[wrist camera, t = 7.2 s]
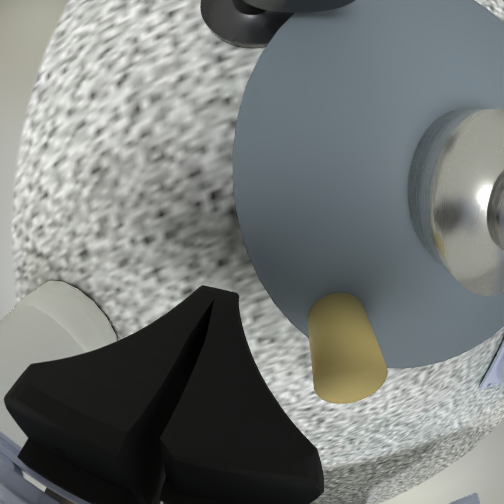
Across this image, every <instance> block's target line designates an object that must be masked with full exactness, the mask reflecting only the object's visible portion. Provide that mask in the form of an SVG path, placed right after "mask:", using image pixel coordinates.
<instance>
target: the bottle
mask: <svg viewBox="0 0 504 504" xmlns="http://www.w3.org/2000/svg"><path fill="white" fill-rule="evenodd" d="M116 341H117V337H116V334H115V332H114V330H113V328H112V327H111V325H110V323H109V321H108V319H107V317H106V316H105V315H104V313H103V312H102V311H101V310H100V309H99V308H98V306H97V305H96V304H95V303H94V301H92V300H91V299H90V298H89V297H87V296H86V295H85V294H84V293H82V292H81V291H80V290H79V289H77V288H75V287H73V286H71V285H68V284H66V283H64V282H62V281H48V282H46V283H44V284H43V285H41V286H40V287H38V288H37V289H36V290H35V291H33V292H31V293H30V294H28V295H27V296H26V297H24V298H23V299H22V300H21V301H20V302H18V303H17V304H16V305H15V307H14V309H13V310H12V311H11V312H10V313H9V314H7V315H6V316H5V317H4V318H3V319H2V320H1V321H0V431H1V432H2V433H3V434H4V435H6V436H7V437H8V438H10V439H11V440H12V441H14V442H15V443H16V444H18V445H19V446H20V447H22V448H23V446H24V444H25V443H26V441H27V439H28V437H27V436H26V435H25V433H24V432H23V431H22V430H21V428H20V427H19V426H18V424H17V423H16V422H15V420H14V419H13V418H12V416H11V415H10V413H9V412H8V410H7V409H6V406H5V403H4V397H5V395H6V394H7V393H8V391H9V390H10V389H11V387H12V386H13V385H14V383H15V382H16V381H17V379H18V378H19V377H20V376H21V374H22V373H23V372H24V371H25V370H26V369H27V367H28V366H29V365H30V364H32V363H40V362H46V361H52V360H58V359H63V358H68V357H72V356H76V355H79V354H83V353H86V352H90V351H93V350H96V349H99V348H101V347H104V346H106V345H109V344H111V343H114V342H116ZM21 471H22V470H21ZM22 472H23V471H22ZM23 475H24V478H25V479H26V480H28V481H29V482H30V483H32V484H33V485H35V486H36V487H38V488H39V489H40V490H42V491H43V492H44V491H45V489H46V486H44V485H42V484H41V483H39V482H38V481H36V480H35V479H33V478H32V477H30V476H29V475H27V474H26V473H25V472H23Z"/></svg>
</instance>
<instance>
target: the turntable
mask: <svg viewBox="0 0 504 504" xmlns="http://www.w3.org/2000/svg"><path fill="white" fill-rule="evenodd" d="M457 109H504V23H503V22H502V21H501V20H500V19H499V18H497V17H496V16H495V15H494V14H493V13H491V12H490V11H489V10H488V9H486V8H485V7H483V6H482V5H480V4H479V3H477V2H476V1H474V0H355V1H354V2H352V3H351V4H349V5H346V6H344V7H341V8H337V9H333V10H327V11H320V12H309V13H294V14H293V15H292V16H291V17H290V18H289V19H288V20H287V21H286V22H285V23H284V24H283V25H282V26H281V28H280V29H279V30H278V31H277V32H276V34H275V35H274V37H273V38H272V39H271V41H270V42H269V44H268V45H267V47H266V48H265V50H264V51H263V53H262V54H261V56H260V58H259V60H258V62H257V64H256V66H255V68H254V70H253V73H252V75H251V77H250V79H249V81H248V84H247V86H246V89H245V92H244V96H243V100H242V103H241V107H240V110H239V114H238V118H237V123H236V131H235V139H234V147H233V191H234V197H235V204H236V210H237V217H238V223H239V226H240V229H241V233H242V236H243V239H244V243H245V246H246V250H247V253H248V255H249V257H250V260H251V262H252V264H253V266H254V268H255V271H256V273H257V275H258V277H259V279H260V281H261V283H262V284H263V286H264V287H265V289H266V291H267V292H268V294H269V295H270V297H271V298H272V300H273V302H274V303H275V304H276V306H277V307H278V308H279V309H280V310H281V311H282V313H283V314H284V315H285V316H286V317H287V318H288V320H289V321H290V322H291V323H292V324H293V325H294V326H295V327H296V328H298V329H299V330H300V331H301V332H302V333H303V334H305V335H306V336H307V337H308V338H309V341H310V351H311V361H312V371H313V382H314V390H315V392H316V394H317V395H318V396H319V397H320V398H321V399H323V400H325V401H327V402H331V403H337V404H344V403H352V402H356V401H359V400H362V399H364V398H366V397H368V396H370V395H372V394H373V393H374V392H376V391H377V390H378V389H379V388H380V387H381V386H382V385H383V383H384V382H385V380H386V377H387V368H412V367H420V366H426V365H430V364H434V363H438V362H442V361H445V360H448V359H450V358H453V357H455V356H458V355H460V354H462V353H464V352H466V351H468V350H470V349H472V348H474V347H476V346H477V345H479V344H480V343H482V342H483V341H485V340H486V339H488V338H489V337H491V336H492V335H493V334H495V333H496V332H497V331H498V330H500V329H501V328H502V327H503V326H504V292H503V293H501V294H497V295H492V296H483V295H478V294H475V293H472V292H471V291H469V290H467V289H466V288H465V287H464V286H463V285H462V284H461V283H460V282H459V281H458V280H457V279H456V278H455V277H454V276H453V275H452V274H451V273H450V272H449V271H448V270H447V269H446V268H445V267H444V266H443V265H442V264H441V263H440V262H439V261H438V260H437V259H436V258H435V257H434V256H433V255H431V254H430V253H429V252H428V250H427V249H426V248H425V247H424V246H423V244H422V243H421V241H420V240H419V238H418V236H417V234H416V232H415V230H414V227H413V224H412V221H411V217H410V213H409V207H408V187H407V186H408V176H409V170H410V165H411V161H412V158H413V154H414V152H415V149H416V147H417V145H418V142H419V141H420V139H421V137H422V135H423V134H424V132H425V131H426V130H427V128H428V127H429V126H430V125H431V124H432V123H433V122H434V121H435V120H436V119H437V118H439V117H440V116H442V115H443V114H445V113H448V112H450V111H453V110H457Z"/></svg>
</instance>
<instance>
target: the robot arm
mask: <svg viewBox="0 0 504 504" xmlns="http://www.w3.org/2000/svg"><path fill="white" fill-rule="evenodd" d="M500 383H501V384H502V386H503V388H504V341H503V343H502V345H501V347H500V349H499V351H498V353H497V355H496V357H495V359H494V361H493V363H492V365H491V366H490V368H489V370H488V372H487V374H486V375H485V377H484V379H483V381H482V382H481V384H480V389H481V390H484V389H486V388H489V387H492V386H495V385H497V384H500ZM4 403H5V406H6V409H7V410H8V412H9V413H10V415H11V416H12V418H13V419H14V420H15V422H16V423H17V424H18V426H19V427H20V428H21V430H22V431H23V432H24V433H25V435H26V436H27V437H28V439H27V441H26V443H25V444H24V446H23V448H22V447H20V446H19V445H18V444H16V443H15V442H14V441H12V440H11V439H10V438H8V437H7V436H6V435H4V434H3V433H2V432H1V431H0V504H60V503H59V502H57V501H56V500H54V499H53V498H51V497H50V496H48V495H47V494H45V493H44V492H43V491H42V490H40V489H39V488H38V487H36V486H35V485H33V484H32V483H30V482H29V481H28V480H26V479H25V478H24V475H23V472H25V473H26V474H27V475H29V476H30V477H32V478H33V479H35V480H36V481H38V482H39V483H41V484H42V485H44V486H46V487H47V488H49V489H50V490H52V491H54V492H55V493H57V494H59V495H60V496H62V497H64V498H66V499H68V500H69V501H71V502H73V503H75V504H160V502H161V501H162V502H163V504H309V503H311V502H312V501H314V500H315V499H317V498H318V497H319V496H320V495H321V494H322V493H323V492H324V475H323V470H322V465H321V461H320V457H319V454H318V450H317V448H316V447H315V446H314V445H313V444H312V443H311V442H310V441H309V440H308V439H307V438H306V437H305V436H304V435H303V434H302V433H301V431H300V430H299V429H298V428H297V427H296V426H295V425H294V423H293V422H292V421H291V420H290V418H289V417H288V416H287V414H286V413H285V412H284V411H283V409H282V408H281V406H280V405H279V403H278V402H277V400H276V399H275V397H274V396H273V394H272V393H271V391H270V390H269V388H268V386H267V385H266V383H265V381H264V379H263V377H262V376H261V374H260V372H259V370H258V368H257V365H256V363H255V361H254V359H253V356H252V354H251V351H250V349H249V346H248V343H247V340H246V337H245V334H244V330H243V326H242V322H241V317H240V311H239V295H238V294H237V293H235V292H230V291H226V290H221V289H217V288H213V287H208V286H204V285H202V286H200V287H199V288H198V289H197V290H195V291H194V292H193V293H192V294H191V295H190V296H188V297H187V298H186V299H185V300H184V301H182V302H181V303H180V304H178V305H177V306H176V307H174V308H173V309H172V310H170V311H169V312H168V313H166V314H165V315H163V316H162V317H160V318H159V319H157V320H156V321H154V322H153V323H151V324H150V325H148V326H146V327H145V328H143V329H141V330H139V331H137V332H136V333H134V334H132V335H130V336H128V337H126V338H124V339H121V340H119V341H116V342H114V343H111V344H109V345H106V346H104V347H101V348H99V349H96V350H93V351H90V352H86V353H83V354H79V355H76V356H72V357H68V358H63V359H58V360H52V361H46V362H40V363H32V364H30V365H29V366H28V367H27V369H26V370H25V371H24V372H23V373H22V374H21V376H20V377H19V378H18V379H17V381H16V382H15V383H14V385H13V386H12V387H11V389H10V390H9V391H8V393H7V394H6V395H5V397H4ZM21 470H22V471H23V472H22V471H21ZM450 504H480V502H479V498H478V494H477V493H473V494H471V495H469V496H467V497H464V498H462V499H459V500H456V501H454V502H452V503H450Z"/></svg>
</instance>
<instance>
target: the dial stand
mask: <svg viewBox="0 0 504 504" xmlns="http://www.w3.org/2000/svg"><path fill="white" fill-rule="evenodd" d="M354 1H355V0H201V7H200V8H201V14H202V17H203V19H204V21H205V23H206V24H207V26H208V27H209V28H210V30H211V31H212V32H213V33H214V34H215V35H216V36H217V37H218V38H220V39H221V40H223V41H225V42H226V43H229V44H231V45H235V46H238V47H244V48H261V47H267V45H268V44H269V42H270V41H271V39H272V38H273V37H274V35H275V34H276V32H277V31H278V30H279V29H280V28H281V26H282V25H283V24H284V23H285V22H286V21H287V20H288V19H289V18H290V17H291V16H292V15H293V14H294V13H309V12H320V11H327V10H333V9H337V8H341V7H344V6H346V5H349V4H351V3H352V2H354Z"/></svg>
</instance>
